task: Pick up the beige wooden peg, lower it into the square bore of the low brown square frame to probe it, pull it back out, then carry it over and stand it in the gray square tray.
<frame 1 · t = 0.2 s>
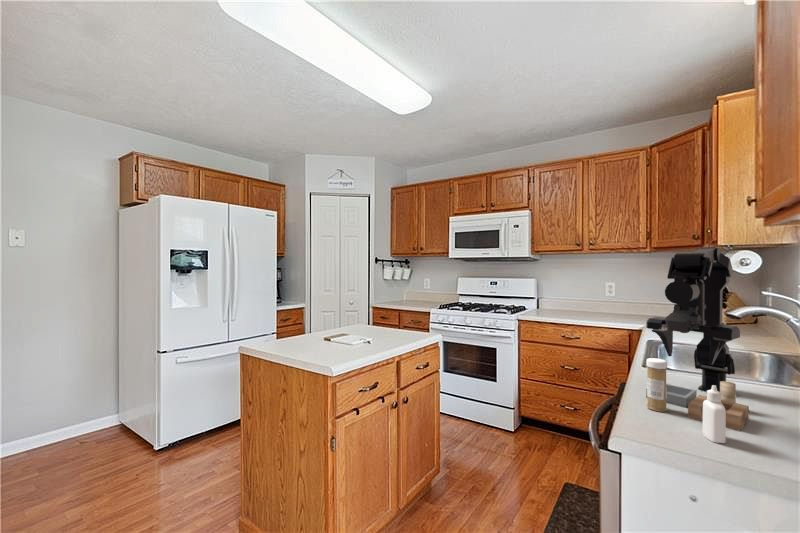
hand: (689, 360, 98), 14 cm above the counter, fingers open, 9 cm apart
sprinkles bottle: (656, 409, 101), on the counter
eye dropper bottle: (713, 439, 85), on the counter
gray square tray: (671, 398, 109), on the counter
brown square frame: (718, 418, 95), on the counter
beige wooden peg: (727, 408, 101), on the counter
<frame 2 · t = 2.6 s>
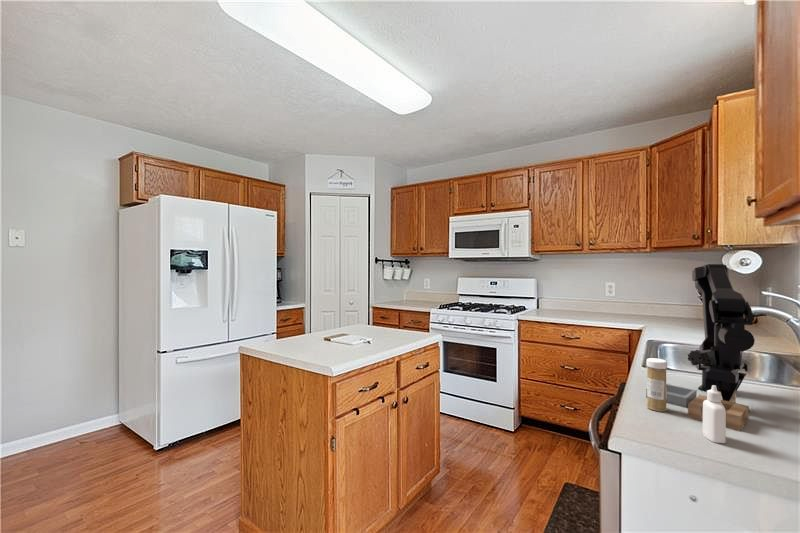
hand: (727, 400, 101), 2 cm above the counter, fingers closed on beige wooden peg, 3 cm apart
beige wooden peg: (727, 408, 101), on the counter, touching gripper
everything else where it was.
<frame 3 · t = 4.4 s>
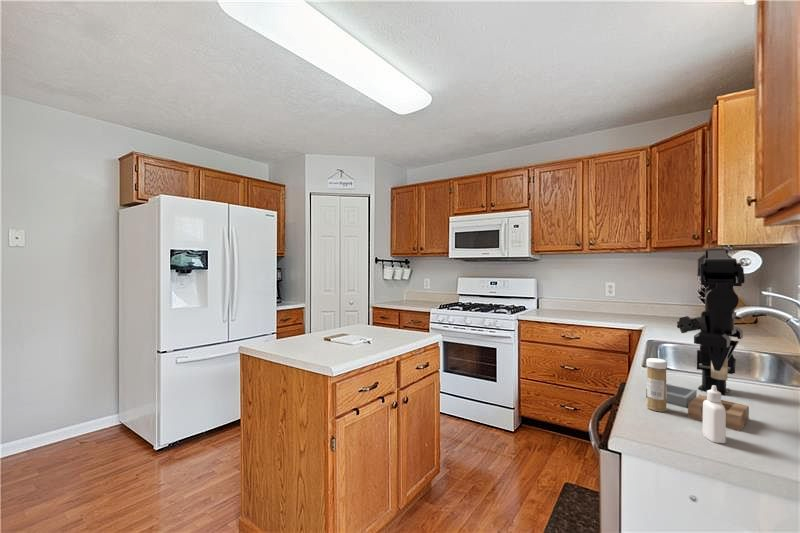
hand: (718, 369, 95), 13 cm above the counter, fingers closed on beige wooden peg, 3 cm apart
beige wooden peg: (719, 377, 95), point 10 cm above the counter, touching gripper
everything else where it was.
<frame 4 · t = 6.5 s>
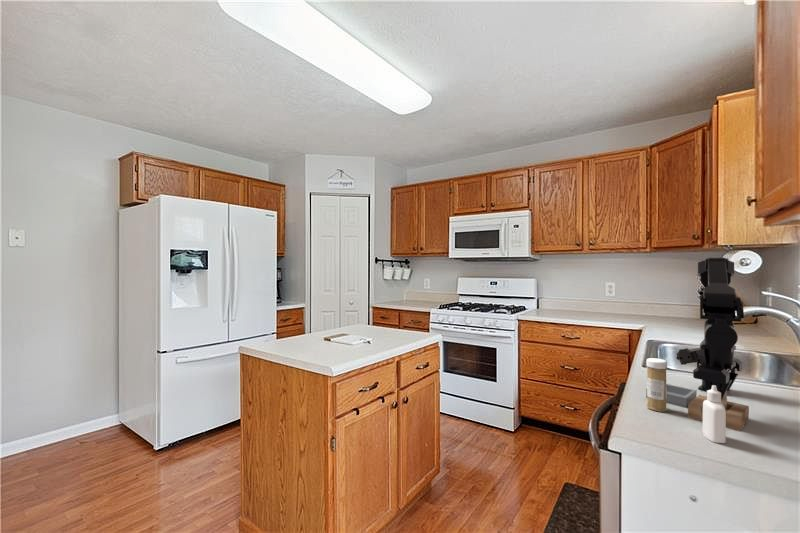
hand: (718, 402, 95), 4 cm above the counter, fingers closed on beige wooden peg, 3 cm apart
beige wooden peg: (718, 410, 95), point 2 cm above the counter, touching gripper
everything else where it was.
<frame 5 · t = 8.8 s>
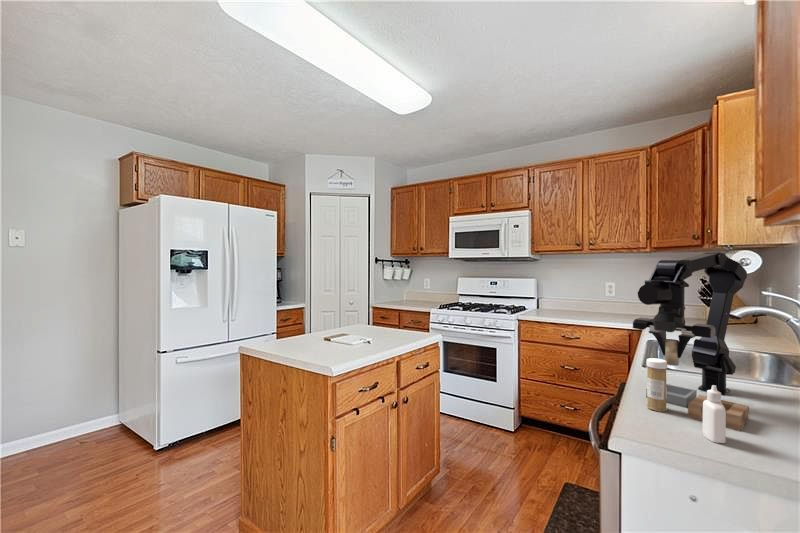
hand: (671, 356, 108), 12 cm above the counter, fingers closed on beige wooden peg, 3 cm apart
beige wooden peg: (671, 364, 108), point 10 cm above the counter, touching gripper
everything else where it was.
when the fingers open (4 cm above the counter, at t = 10.6 s): beige wooden peg stays where it is, resting on gray square tray.
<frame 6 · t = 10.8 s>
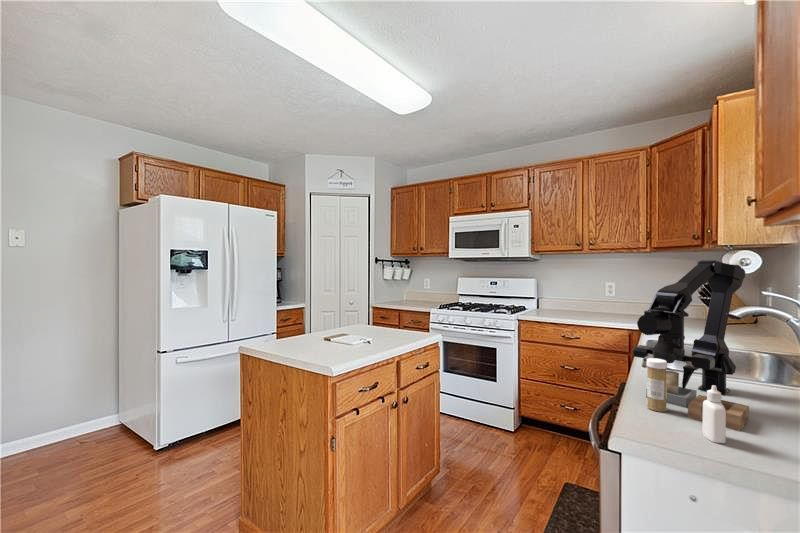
hand: (671, 385, 109), 4 cm above the counter, fingers open, 6 cm apart
beige wooden peg: (671, 396, 109), point 1 cm above the counter, touching gray square tray
everything else where it was.
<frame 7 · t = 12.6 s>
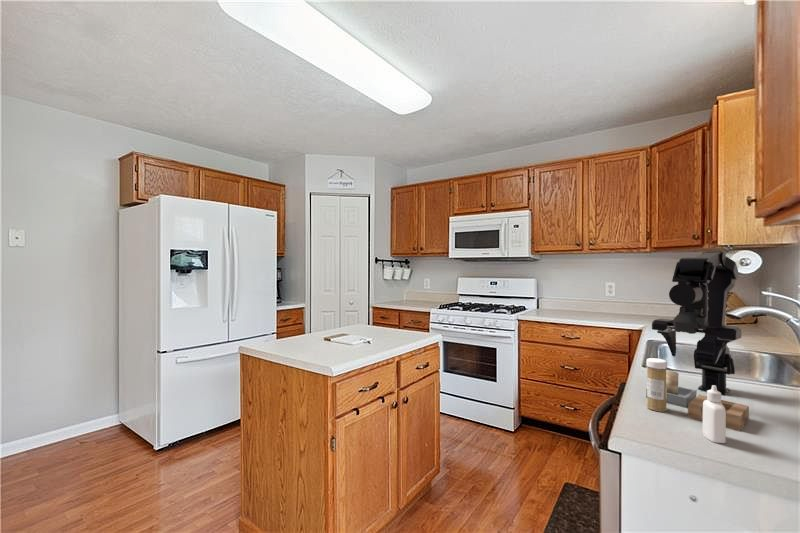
hand: (693, 359, 103), 13 cm above the counter, fingers open, 9 cm apart
nothing on the counter moved.
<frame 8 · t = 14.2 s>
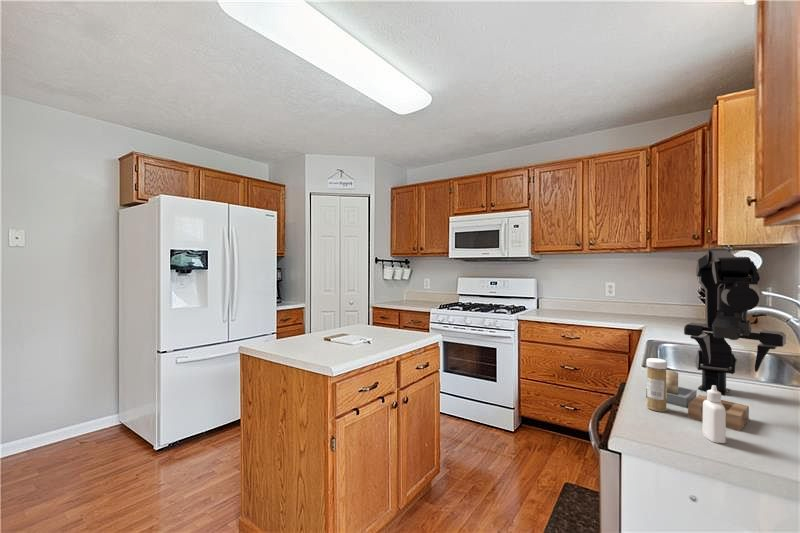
hand: (731, 367, 95), 13 cm above the counter, fingers open, 9 cm apart
nothing on the counter moved.
at the end: beige wooden peg inside the target area on the gray square tray (0.0 cm from its centre), point 0.6 cm above the gray square tray's base; beige wooden peg tilted 0°; the gripper is holding nothing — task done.
